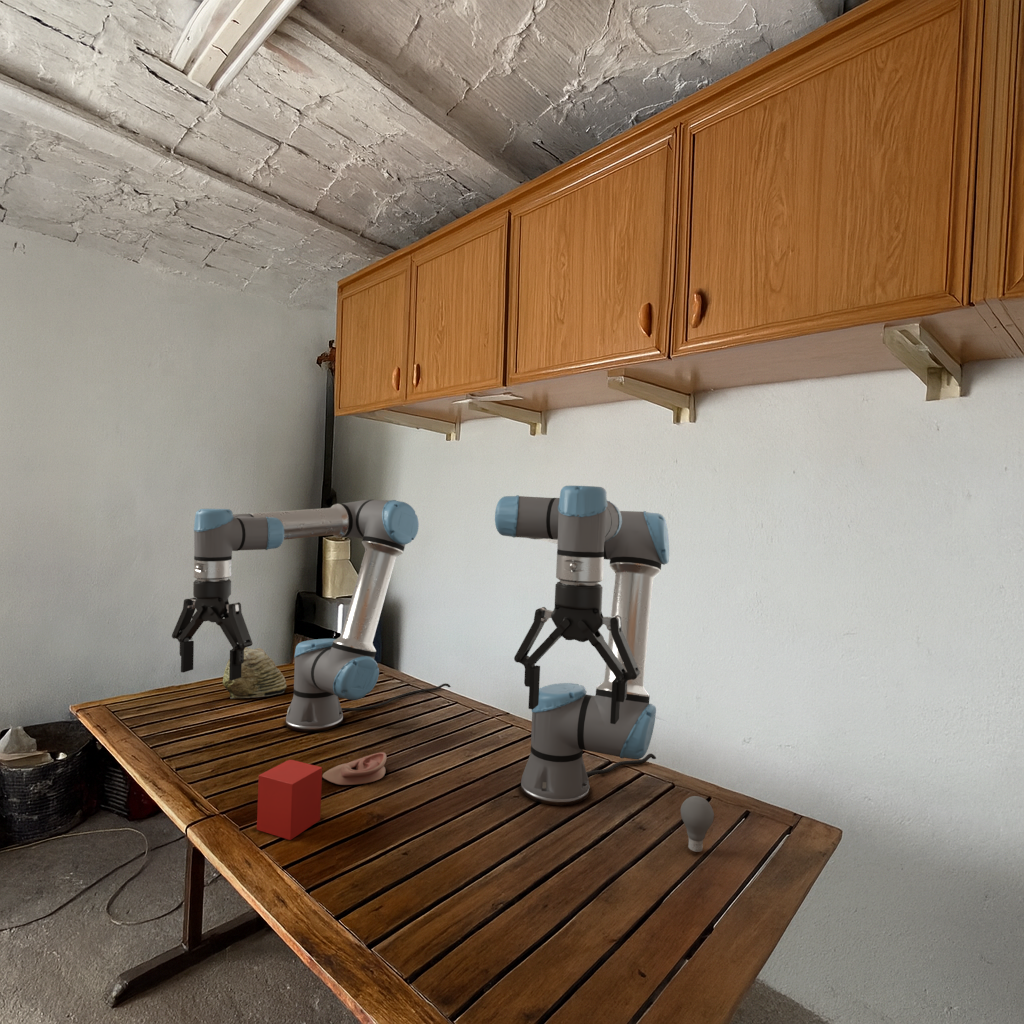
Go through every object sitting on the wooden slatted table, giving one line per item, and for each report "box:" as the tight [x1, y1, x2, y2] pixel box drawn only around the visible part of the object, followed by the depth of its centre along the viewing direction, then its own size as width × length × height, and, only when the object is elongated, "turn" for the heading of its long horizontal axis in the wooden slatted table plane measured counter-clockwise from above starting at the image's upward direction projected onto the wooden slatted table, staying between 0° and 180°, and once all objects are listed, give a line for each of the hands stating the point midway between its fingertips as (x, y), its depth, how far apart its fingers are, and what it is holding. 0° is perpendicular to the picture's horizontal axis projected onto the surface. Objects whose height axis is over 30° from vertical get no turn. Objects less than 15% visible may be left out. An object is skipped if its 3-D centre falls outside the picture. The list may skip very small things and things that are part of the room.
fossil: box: [222, 647, 288, 699], centre depth 198 cm, size 9×18×15 cm, turn 132°
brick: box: [256, 759, 323, 841], centre depth 122 cm, size 8×8×10 cm
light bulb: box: [680, 795, 715, 853], centre depth 119 cm, size 6×6×10 cm
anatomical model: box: [322, 751, 387, 786], centre depth 144 cm, size 13×4×12 cm
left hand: (210, 674), depth 140 cm, fingers open, 13 cm apart
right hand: (573, 714), depth 102 cm, fingers open, 13 cm apart
